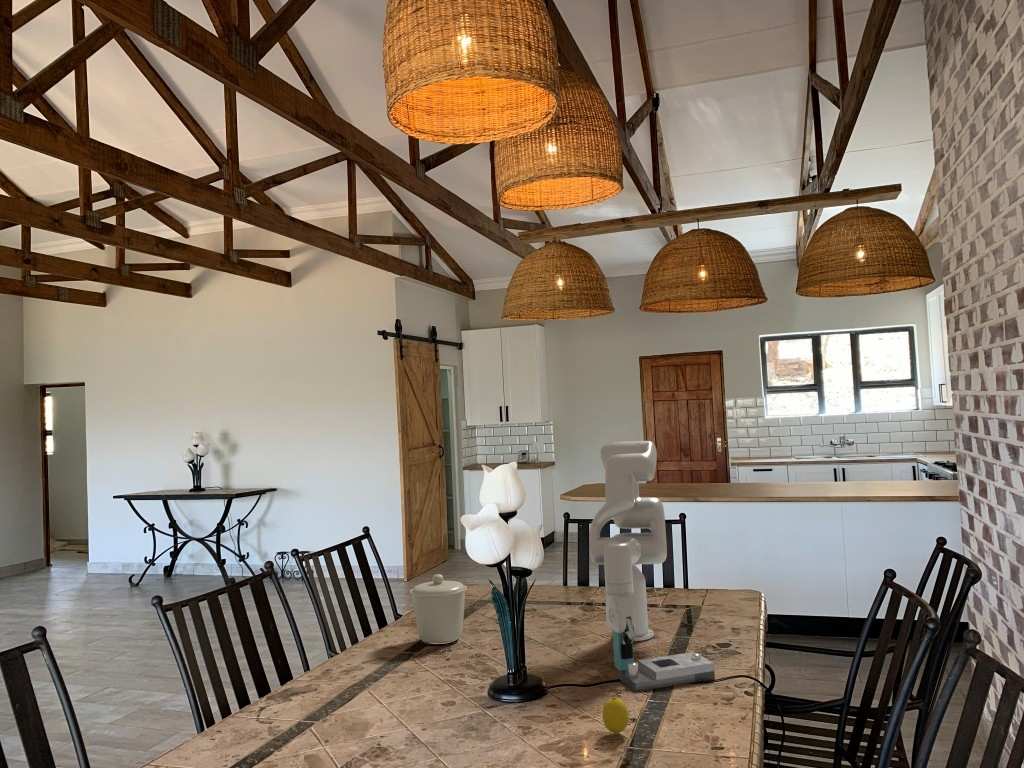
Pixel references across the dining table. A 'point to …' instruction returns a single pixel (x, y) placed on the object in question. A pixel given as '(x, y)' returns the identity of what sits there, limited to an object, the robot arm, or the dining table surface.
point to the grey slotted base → (667, 671)
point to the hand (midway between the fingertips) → (623, 655)
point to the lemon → (615, 715)
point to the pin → (618, 661)
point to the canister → (439, 609)
